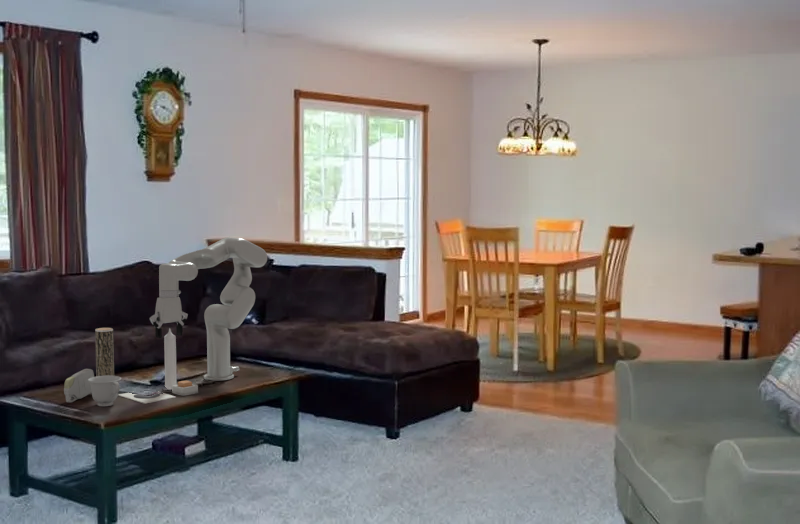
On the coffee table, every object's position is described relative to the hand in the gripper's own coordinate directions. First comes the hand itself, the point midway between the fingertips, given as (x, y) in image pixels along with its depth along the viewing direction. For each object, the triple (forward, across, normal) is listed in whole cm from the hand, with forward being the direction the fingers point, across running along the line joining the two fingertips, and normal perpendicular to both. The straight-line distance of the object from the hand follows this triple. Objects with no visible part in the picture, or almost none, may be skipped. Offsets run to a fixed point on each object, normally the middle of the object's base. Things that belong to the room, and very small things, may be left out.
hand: (169, 336), depth 395 cm
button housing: (+22, -1, +10) cm, 24 cm away
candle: (+22, -1, 0) cm, 22 cm away
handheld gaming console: (+22, +33, -11) cm, 41 cm away
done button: (+19, -1, +10) cm, 22 cm away
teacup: (+22, +31, +6) cm, 39 cm away
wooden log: (+22, +19, -16) cm, 33 cm away
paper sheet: (+22, +13, +4) cm, 26 cm away
